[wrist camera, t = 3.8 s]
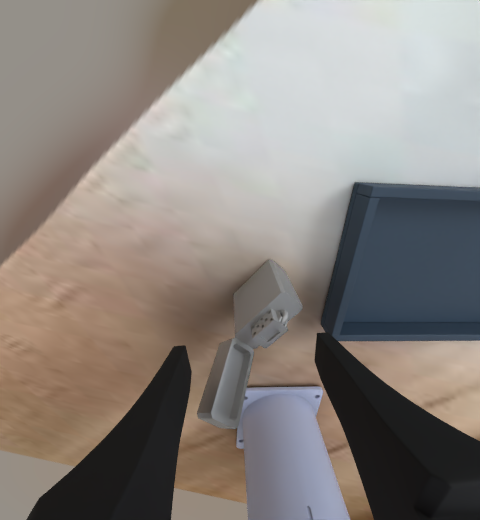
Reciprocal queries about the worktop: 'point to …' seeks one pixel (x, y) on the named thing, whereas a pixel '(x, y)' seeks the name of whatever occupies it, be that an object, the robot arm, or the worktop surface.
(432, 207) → the tray
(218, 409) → the lighter
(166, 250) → the worktop surface
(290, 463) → the robot arm
